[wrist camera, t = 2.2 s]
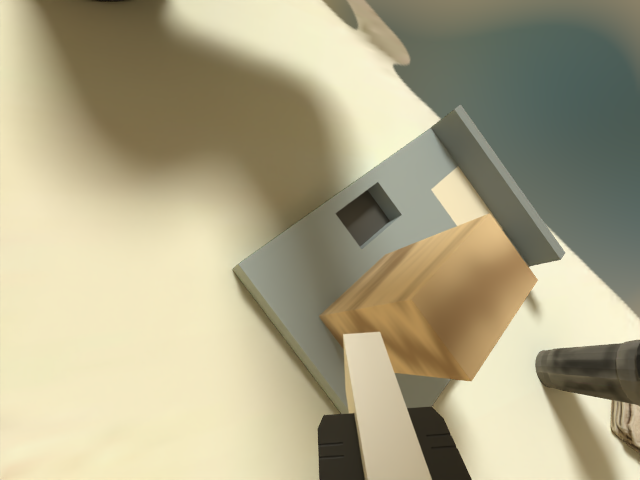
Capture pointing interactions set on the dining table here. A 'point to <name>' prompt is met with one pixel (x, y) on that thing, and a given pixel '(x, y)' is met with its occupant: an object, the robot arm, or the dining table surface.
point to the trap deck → (387, 241)
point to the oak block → (438, 300)
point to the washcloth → (626, 423)
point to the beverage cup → (594, 370)
